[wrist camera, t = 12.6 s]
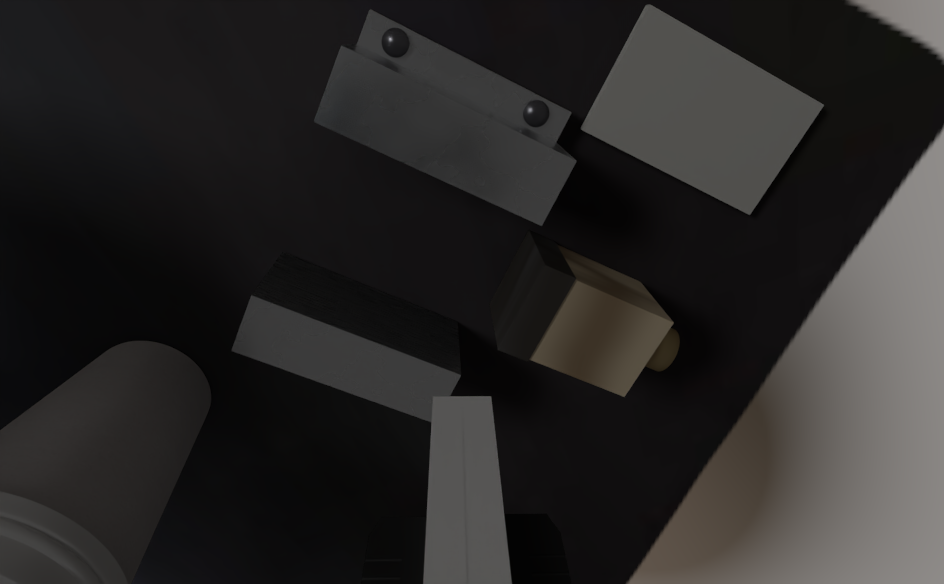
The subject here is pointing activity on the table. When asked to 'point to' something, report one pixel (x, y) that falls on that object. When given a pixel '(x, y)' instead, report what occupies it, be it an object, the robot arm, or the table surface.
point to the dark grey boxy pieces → (431, 151)
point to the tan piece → (580, 317)
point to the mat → (699, 111)
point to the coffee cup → (97, 466)
